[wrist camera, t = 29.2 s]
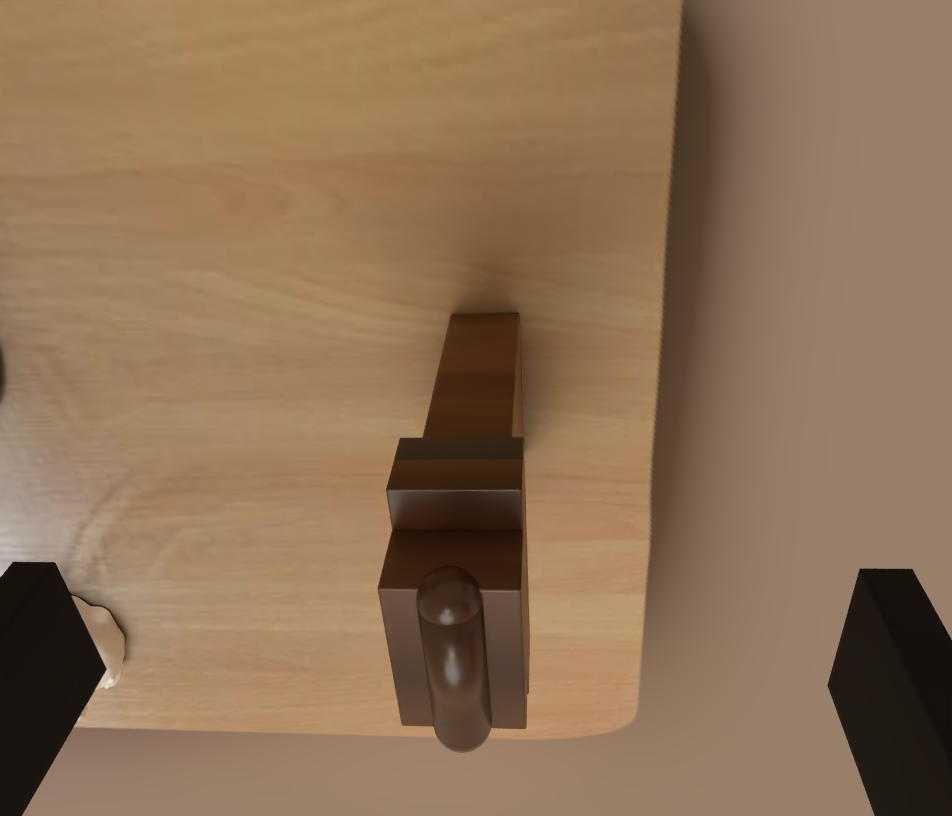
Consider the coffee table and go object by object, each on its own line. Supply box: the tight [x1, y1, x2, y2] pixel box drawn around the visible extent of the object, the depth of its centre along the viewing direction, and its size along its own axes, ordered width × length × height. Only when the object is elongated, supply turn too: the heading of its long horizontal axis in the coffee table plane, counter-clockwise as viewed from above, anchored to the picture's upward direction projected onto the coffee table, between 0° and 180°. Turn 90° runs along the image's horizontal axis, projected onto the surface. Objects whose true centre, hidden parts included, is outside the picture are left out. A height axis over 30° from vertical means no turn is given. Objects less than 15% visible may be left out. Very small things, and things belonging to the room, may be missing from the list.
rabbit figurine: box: [72, 596, 125, 721], centre depth 57 cm, size 12×8×10 cm, turn 20°
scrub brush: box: [378, 437, 530, 753], centre depth 32 cm, size 12×5×8 cm, turn 3°
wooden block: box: [423, 313, 523, 438], centre depth 41 cm, size 10×4×14 cm, turn 3°
